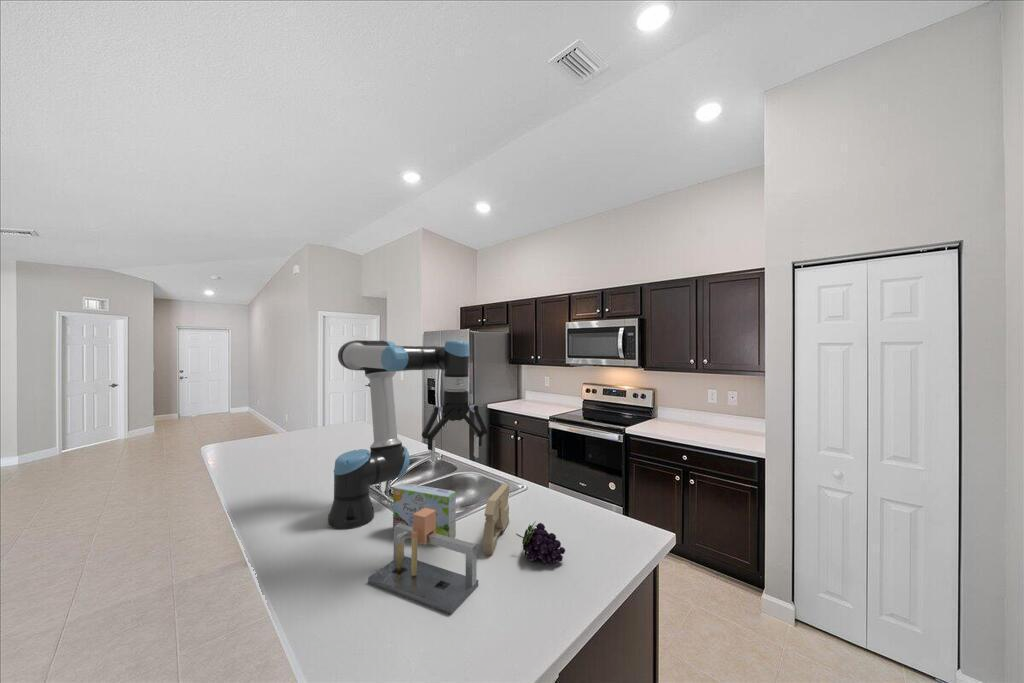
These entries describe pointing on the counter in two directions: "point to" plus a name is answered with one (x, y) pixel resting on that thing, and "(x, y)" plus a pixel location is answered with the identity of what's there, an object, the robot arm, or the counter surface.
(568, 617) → the counter surface
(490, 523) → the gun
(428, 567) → the bolt plate
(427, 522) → the block
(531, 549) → the fruit
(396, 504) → the snack box
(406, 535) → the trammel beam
